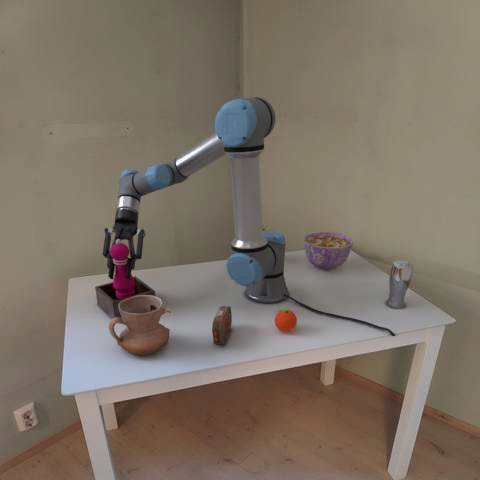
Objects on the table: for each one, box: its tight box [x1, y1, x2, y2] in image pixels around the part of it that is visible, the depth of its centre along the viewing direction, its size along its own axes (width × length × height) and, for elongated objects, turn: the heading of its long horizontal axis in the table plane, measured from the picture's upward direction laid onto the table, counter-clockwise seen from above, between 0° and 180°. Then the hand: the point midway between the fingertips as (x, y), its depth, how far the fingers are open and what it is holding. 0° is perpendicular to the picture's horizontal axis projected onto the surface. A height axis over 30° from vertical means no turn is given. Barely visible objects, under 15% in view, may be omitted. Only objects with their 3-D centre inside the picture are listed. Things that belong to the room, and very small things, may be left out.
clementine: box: [274, 308, 298, 333], centre depth 141 cm, size 8×7×7 cm
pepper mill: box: [109, 239, 135, 299], centre depth 149 cm, size 7×7×20 cm
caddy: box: [94, 276, 158, 320], centre depth 154 cm, size 15×15×7 cm
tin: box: [211, 305, 233, 346], centre depth 137 cm, size 15×3×8 cm, turn 168°
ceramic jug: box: [108, 295, 172, 356], centre depth 130 cm, size 18×14×14 cm
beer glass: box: [385, 260, 414, 309], centre depth 154 cm, size 7×7×15 cm
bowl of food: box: [303, 231, 354, 271], centre depth 186 cm, size 20×20×12 cm
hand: (119, 277), depth 147 cm, fingers closed on pepper mill, 5 cm apart
